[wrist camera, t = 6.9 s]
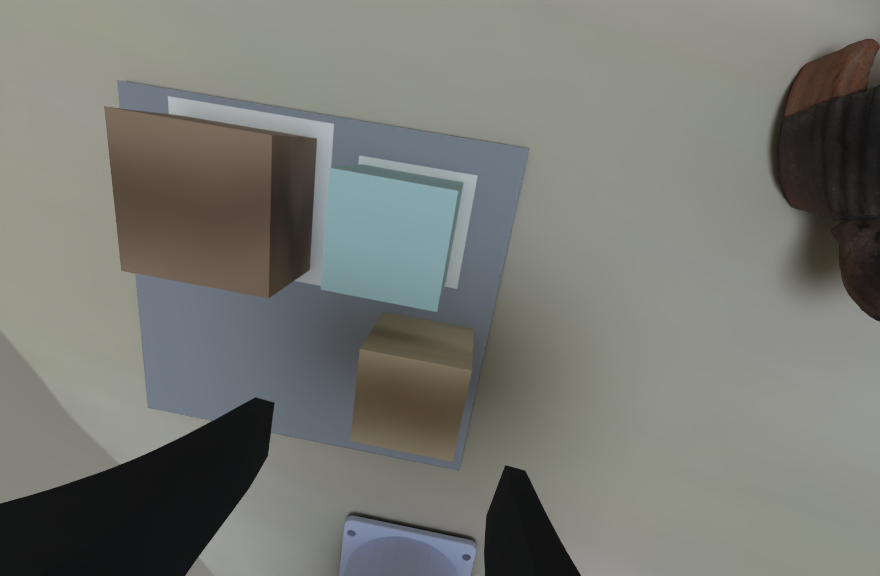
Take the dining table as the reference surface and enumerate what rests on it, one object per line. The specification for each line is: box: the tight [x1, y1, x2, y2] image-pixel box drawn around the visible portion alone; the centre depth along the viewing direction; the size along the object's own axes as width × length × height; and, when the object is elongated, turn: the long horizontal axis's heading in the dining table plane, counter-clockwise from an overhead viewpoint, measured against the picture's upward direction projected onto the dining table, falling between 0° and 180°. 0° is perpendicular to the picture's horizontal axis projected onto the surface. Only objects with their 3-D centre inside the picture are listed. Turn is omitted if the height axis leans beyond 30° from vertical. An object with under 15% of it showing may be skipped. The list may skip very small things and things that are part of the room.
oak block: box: [350, 312, 474, 462], centre depth 19 cm, size 4×4×4 cm
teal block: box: [321, 164, 464, 312], centre depth 17 cm, size 4×4×4 cm
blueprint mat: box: [117, 80, 529, 470], centre depth 20 cm, size 17×18×1 cm
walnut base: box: [104, 107, 317, 298], centre depth 17 cm, size 6×6×4 cm
